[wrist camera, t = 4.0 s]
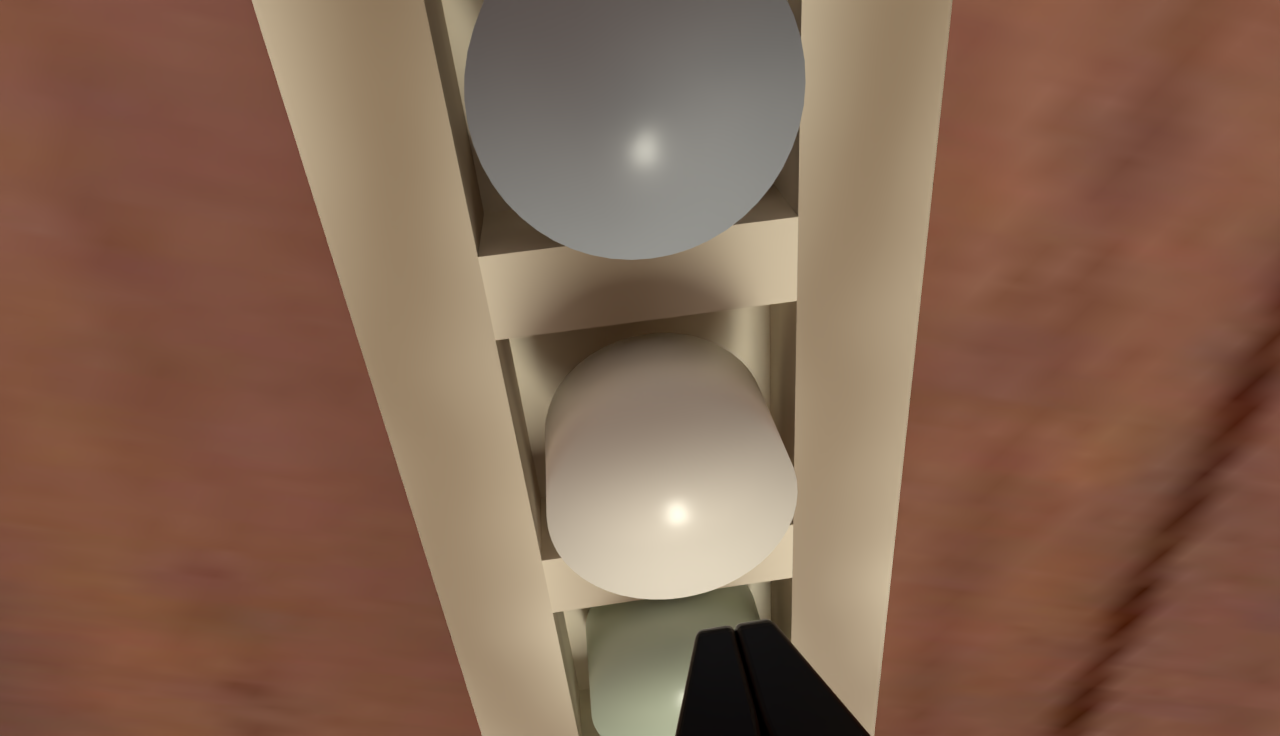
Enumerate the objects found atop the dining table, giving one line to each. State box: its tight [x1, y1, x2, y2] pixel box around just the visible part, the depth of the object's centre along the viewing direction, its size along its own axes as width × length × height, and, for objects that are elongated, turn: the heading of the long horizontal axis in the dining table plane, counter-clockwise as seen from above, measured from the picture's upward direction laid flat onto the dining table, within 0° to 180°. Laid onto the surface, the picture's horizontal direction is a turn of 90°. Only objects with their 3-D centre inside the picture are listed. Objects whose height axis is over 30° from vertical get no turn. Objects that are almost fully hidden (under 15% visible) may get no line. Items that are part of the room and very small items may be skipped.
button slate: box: [464, 0, 806, 260], centre depth 12 cm, size 4×4×2 cm
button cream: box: [545, 333, 798, 600], centre depth 15 cm, size 4×4×2 cm
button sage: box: [586, 585, 760, 736], centre depth 20 cm, size 4×4×2 cm
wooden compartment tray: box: [252, 0, 952, 736], centre depth 17 cm, size 10×23×3 cm, turn 5°
